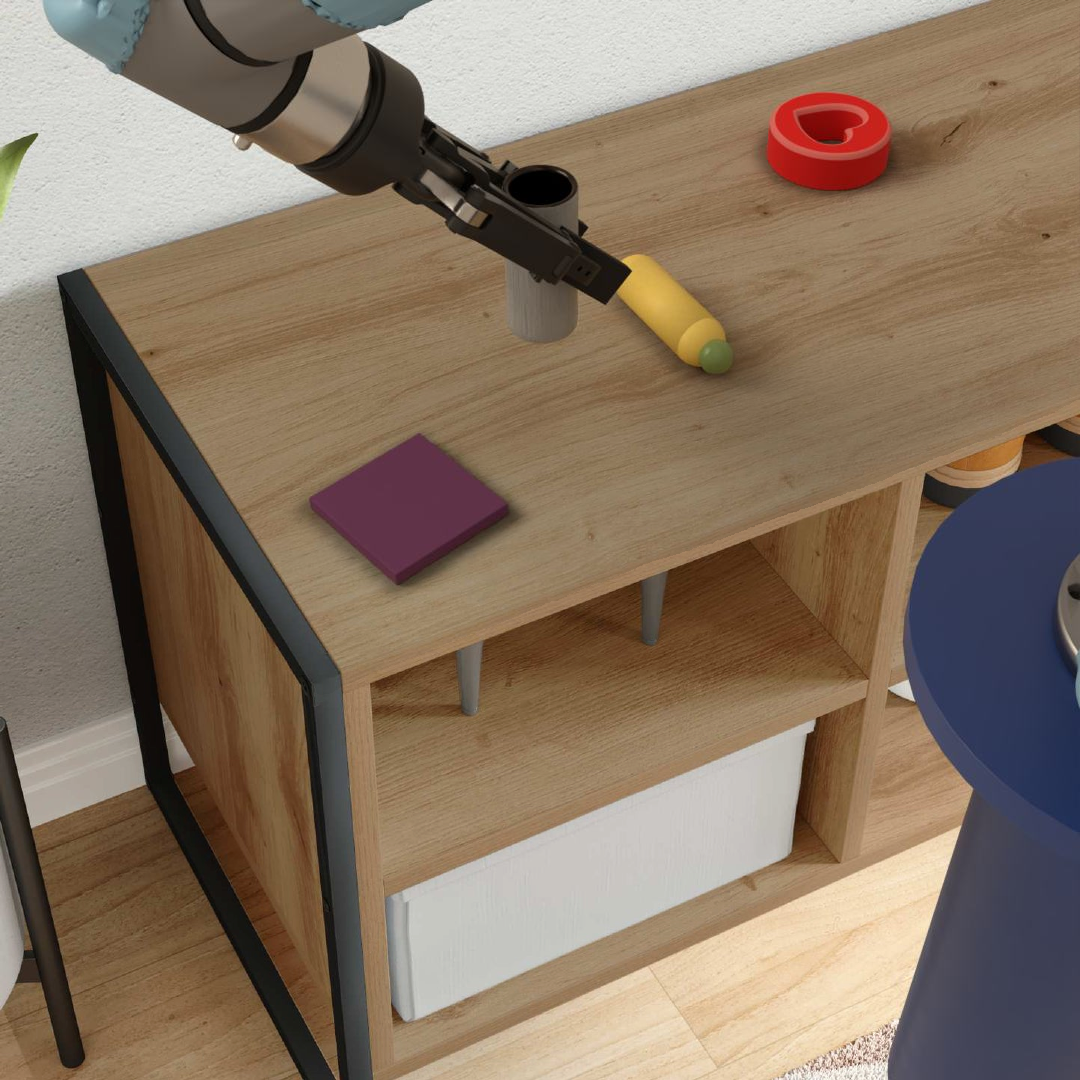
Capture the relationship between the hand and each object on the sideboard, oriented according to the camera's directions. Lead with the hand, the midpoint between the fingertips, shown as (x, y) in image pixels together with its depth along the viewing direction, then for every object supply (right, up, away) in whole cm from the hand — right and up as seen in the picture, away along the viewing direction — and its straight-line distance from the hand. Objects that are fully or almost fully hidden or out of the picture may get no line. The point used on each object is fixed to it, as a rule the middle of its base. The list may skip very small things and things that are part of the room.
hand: (593, 262), depth 99 cm
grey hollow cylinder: (-3, -4, +1) cm, 5 cm away
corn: (+6, -2, +13) cm, 14 cm away
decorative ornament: (+20, +13, +28) cm, 37 cm away
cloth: (-12, -16, +1) cm, 20 cm away
